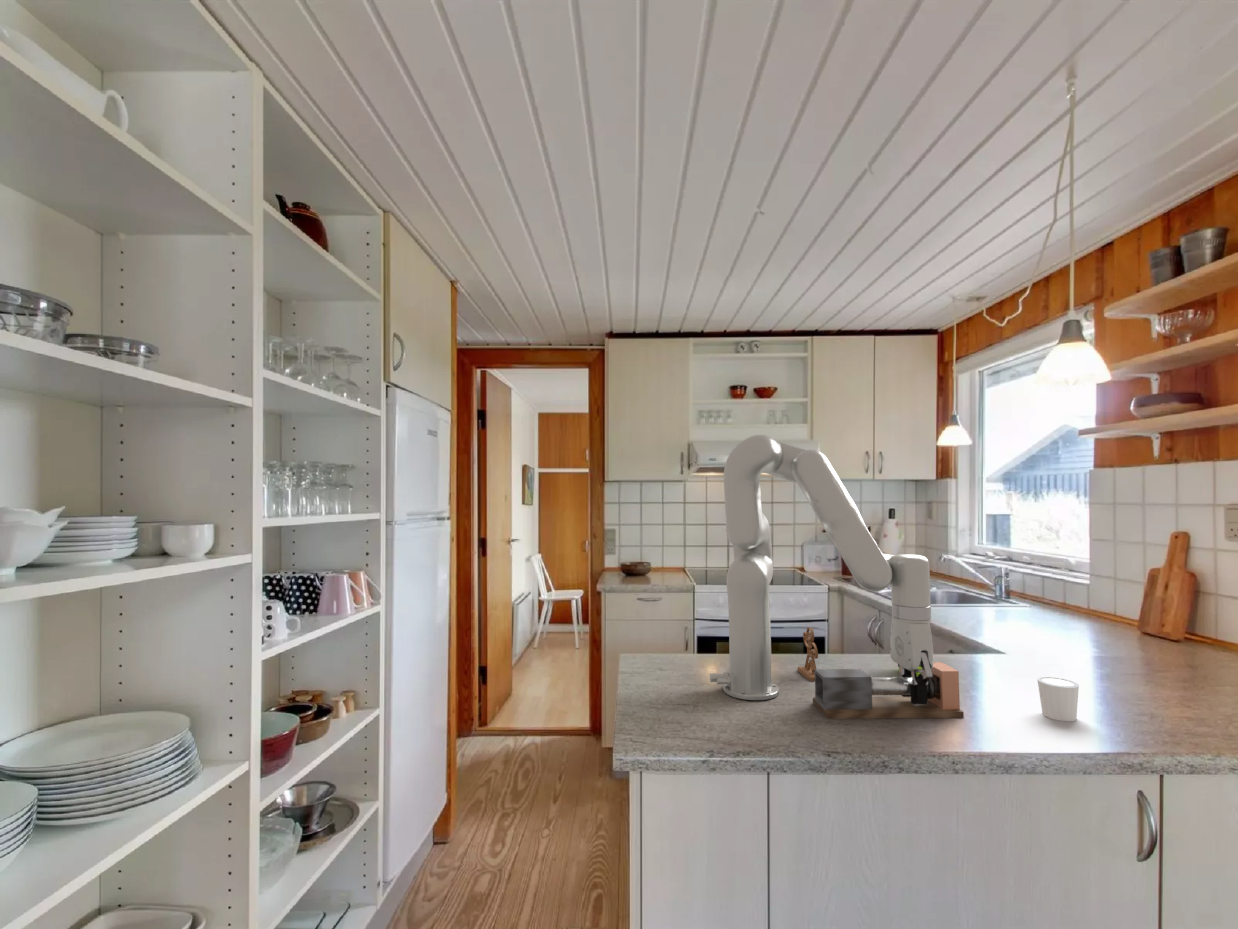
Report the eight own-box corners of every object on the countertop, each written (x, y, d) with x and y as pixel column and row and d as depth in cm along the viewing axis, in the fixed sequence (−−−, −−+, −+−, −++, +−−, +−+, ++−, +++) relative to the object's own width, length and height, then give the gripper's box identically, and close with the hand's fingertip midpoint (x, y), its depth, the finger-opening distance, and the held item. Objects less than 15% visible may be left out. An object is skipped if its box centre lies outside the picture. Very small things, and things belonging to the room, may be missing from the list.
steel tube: (849, 703, 122) (849, 677, 123) (840, 694, 127) (839, 670, 128) (950, 702, 122) (949, 677, 123) (936, 694, 128) (935, 669, 128)
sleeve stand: (827, 718, 120) (826, 679, 121) (812, 703, 129) (812, 667, 130) (963, 717, 120) (962, 679, 121) (939, 702, 129) (938, 666, 130)
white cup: (1082, 725, 116) (1081, 689, 116) (1040, 718, 120) (1038, 683, 120) (1078, 714, 122) (1076, 679, 122) (1037, 707, 126) (1036, 674, 126)
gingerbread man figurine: (825, 680, 144) (824, 631, 145) (810, 681, 144) (809, 632, 145) (811, 670, 153) (810, 623, 154) (797, 670, 153) (796, 624, 154)
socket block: (942, 709, 122) (941, 671, 122) (926, 698, 128) (925, 662, 128) (959, 709, 122) (958, 671, 122) (942, 698, 128) (941, 662, 128)
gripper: (876, 605, 134) (879, 687, 133) (913, 621, 118) (916, 714, 117) (909, 605, 134) (912, 687, 133) (950, 621, 118) (953, 714, 117)
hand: (913, 699), depth 125 cm, fingers closed on steel tube, 3 cm apart
